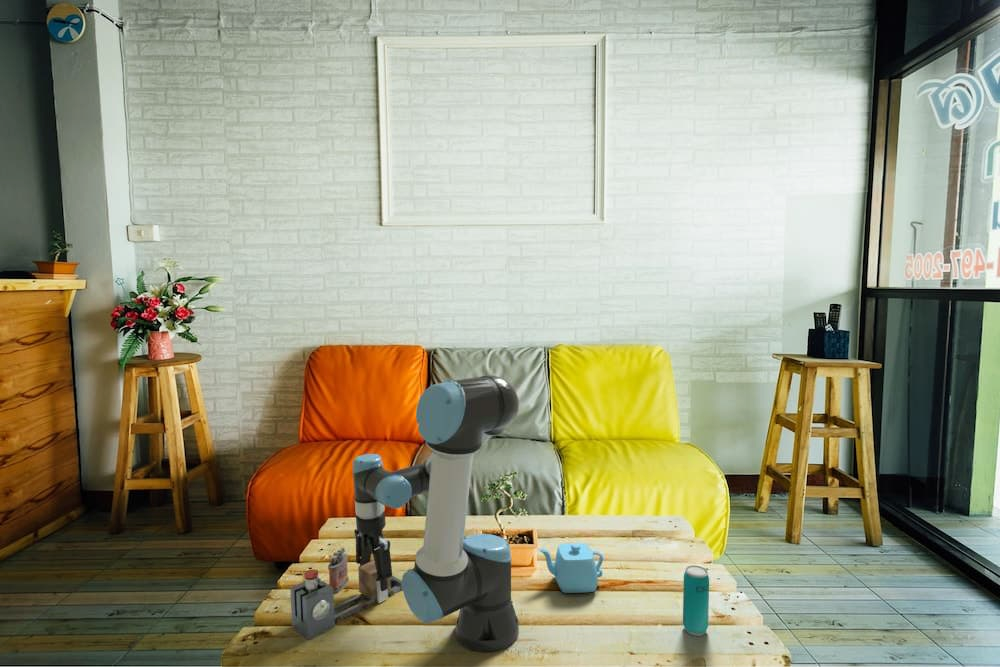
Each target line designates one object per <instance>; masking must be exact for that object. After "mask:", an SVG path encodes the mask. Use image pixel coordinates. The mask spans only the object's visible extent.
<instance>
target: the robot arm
mask: <svg viewBox="0 0 1000 667" xmlns="http://www.w3.org/2000/svg"><path fill="white" fill-rule="evenodd" d="M519 403H520V402H519V397H518V394H517V391H516V389H515V388H514V386H513V385H512V384H511V383H510V382H508V381H507V380H506V379H504V378H503V377H501V376H497V375H490V374H489V375H481V376H476V377H475V376H474V377H470V378H464V379H463V378H462V379H457V380H456V379H455V380H445V381H442V382H440V383H436V384H432V385H430V386H428V387H427V388H426V389H425V390H423V392H422V394H421V395H420V397H419V399H418V402H417V407H416V409H415V410H416V411H415V412H416V413H415V418H416V419H415V420H416V424H418V426H417V430H418V433H419V434H420V437H421V438H422V439H423V440H424V441H425V445H426V447H427V448H429V449H430V450H431V454H430V455H429V457H427V458H426V459H425V460H424V461H423V462H422V463H419V464H414V465H411V466H408V467H403V468H400V469H396V470H393V471H389V470H388V469H385V468H383V467H384V464H383V460H382V456H380V455H379V454H376V453H366V454H362V455H359V456H357V457H355V458H354V459H353V462H352V477H353V479H352V481H353V490H354V507H355V508H354V509H355V522H356V523H355V524H356V529H354V530H353V531H354V536H355V562H356V564H357V565H359V566H362V565H364V564H366V563H369V562H371V558H373V560H374V562H375V566H376V570H377V575H378V578H377V579H376V583H377V600H378V601H377V603H378V604H381V603H382V602H385V601H386V600H388V599H389V596H388V592H387V588H388V586H387V579H388V578H390V577H392V576H393V569H392V568H393V567H392V558H391V541H390V540H385V539H384V533H383V529H384V528H385V527H386V513H385V506H386V507H389V508H390V509H400V508H402V507H404V506H406V504H407V503H408V502H409V500H411V498H413V497H417V496H419V495H423V494H427V493H428V494H427V502H426V503H427V504H426V514H425V524H424V525H425V526H424V535H423V546H421V547H420V548H418V550H417V551H416V554H415V556H414V558H415V559H414V566H413V568H409V569H408V570H407V571H405V572H404V573H403V575H402V578H401V581H402V588H403V590H402V592H403V596H404V599H405V601H406V604H407V606H408V608H409V609H410V612H412V614H413V616H415V618H416V619H418V621H420V622H422V623H425V624H429V623H430V624H431V623H433V622H436V621H438V620H442V619H443V618H445V617H447V616H449V615H452V614H453V613H455V612H457V611H459V612H458V617H457V618H456V621H455V622H456V623H455V635H456V639H457V642H459V644H461V645H462V646H463V647H464V648H467V649H469V650H470V651H475V652H481V653H482V652H483V653H489V652H498V651H501V650H504V649H505V648H508V647H510V646H511V645H513V643H515V642H516V640H517V639H518V637H519V635H520V634H519V633H520V631H519V630H520V627H519V625H520V624H519V619H518V617H517V615H516V611H515V610H516V609H515V608H514V605H513V604H514V603H513V602H512V556H511V547H510V543H509V542H508V541H507V540H506V539H504V538H502V537H500V536H498V535H495V534H491V533H472V534H468V535H466V536H465V529H466V521H467V513H468V504H469V503H468V502H469V497H470V496H469V495H470V486H471V477H472V476H471V475H472V468H473V467H472V466H473V460H474V455H475V454H476V453H478V452H479V451H480V450H481V449H482V447H483V446H484V444H485V443H486V442H488V441H489V440H490V438H492V437H496V436H499V435H501V434H502V433H503V432H504V431H506V430H507V429H508V428H509V427H510V426H511V425H512V424H513V422H514V421H515V419H516V418H517V415H518V413H519V406H520V404H519ZM372 556H373V557H372Z"/></svg>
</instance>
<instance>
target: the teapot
mask: <svg viewBox="0 0 1000 667" xmlns="http://www.w3.org/2000/svg"><path fill="white" fill-rule="evenodd" d="M556 550H557V551H556V555H555V561H554V562H553V560H552V557H551V553H550V552H549V551H548V550H547V549H544V548H538V551H539V552H541V553H542V554H543V555H544V557H545V562H546V567H547V569H548V571H549V573H551V574H552V575H553V576H554V577H555V578H554V579H555V581H556V583H557V586H558V587H559V589H560V590H561V592H563V593H564V594H577V593H578V594H579V593H580V594H581V593H591V592H593V593H594V592H595V591H596V590H597V587H598V583H599V579H598V578H602V575H603V569H601V566H602V564H603V561H604V556H603V554H602V553H601V552H600V551H598V550H592V549H591V547H590V546H589V545H588V543H585V542H576V543H575V542H572V543H560V544H558V546H557V549H556ZM595 555H596V556H599V560H598V561H597V564H596V560H595V557H594V556H595ZM598 572H599V573H598Z"/></svg>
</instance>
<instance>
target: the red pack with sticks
mask: <svg viewBox="0 0 1000 667" xmlns="http://www.w3.org/2000/svg"><path fill="white" fill-rule="evenodd" d="M345 552H346V549H345V547H343V546H342V547H340V548H339V549H338V551H334V552H333V555H332V556H330V557H331V561H330V563H329V564H328V565H327V568H328V574H329V586H331V587H332V588H333V595H337V594H338V593H340V592H341V591H342V590H343V589H345V588H346V586H347V585H348V583H349V580H350V578H349V574H348V573H349V572H348V570H349V568H348V559H349V558H348V557H349V556H348V554H347V553H345Z"/></svg>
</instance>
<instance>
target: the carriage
mask: <svg viewBox="0 0 1000 667" xmlns="http://www.w3.org/2000/svg"><path fill="white" fill-rule="evenodd" d="M370 561H371V560H370ZM377 578H378V575H377V570H376V566H375V562H374V559H373V560H372V561H371V562H369V563H366V564H364V565H362V566H360V565H359V566H358V591H359V594H363V595H365V596H366V597H367V599H371V600H374V599H376V598H377V583H376V579H377ZM387 586H388V588H387V592H390V591H391V588H392V586H391V577H390V578H388V579H387Z"/></svg>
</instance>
